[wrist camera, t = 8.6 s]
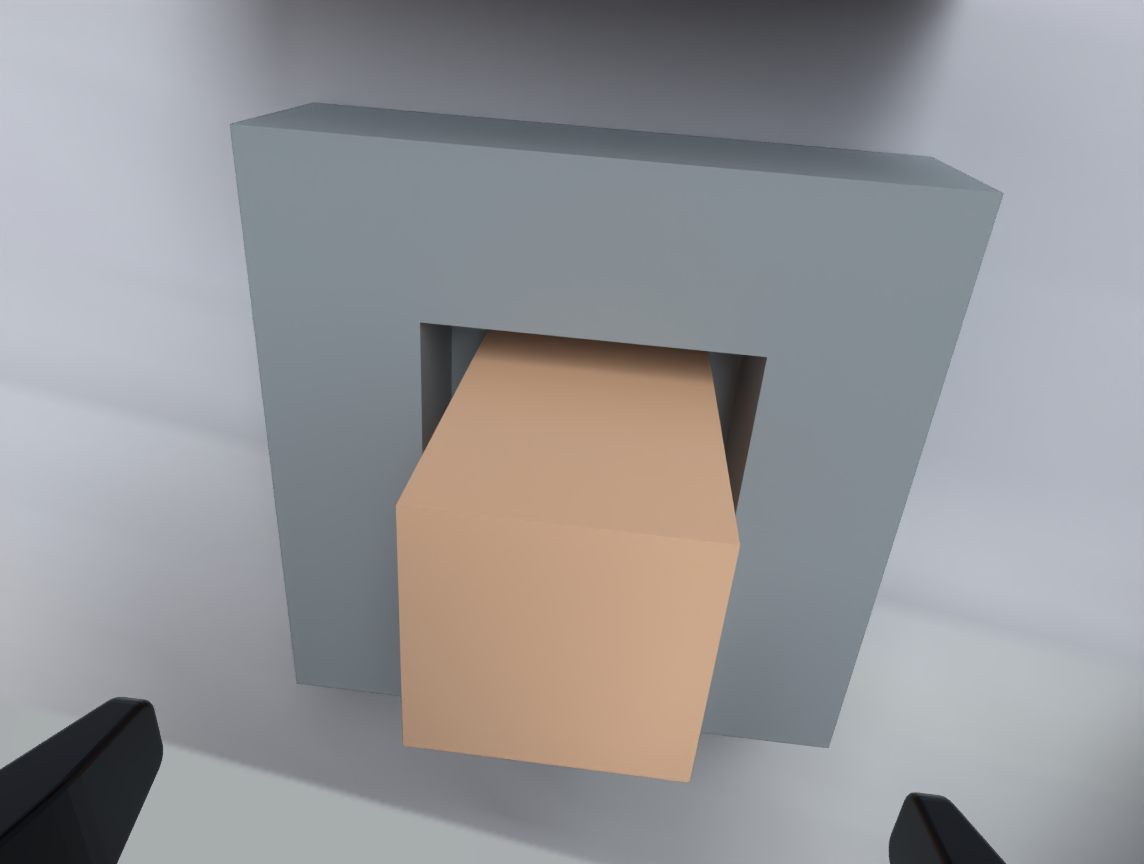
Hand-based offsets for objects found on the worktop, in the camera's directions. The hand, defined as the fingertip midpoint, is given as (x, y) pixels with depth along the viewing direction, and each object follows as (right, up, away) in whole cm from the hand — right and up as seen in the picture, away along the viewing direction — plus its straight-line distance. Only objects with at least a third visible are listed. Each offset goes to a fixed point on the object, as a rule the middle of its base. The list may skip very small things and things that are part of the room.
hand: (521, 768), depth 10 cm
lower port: (+1, +5, +9) cm, 10 cm away
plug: (+1, +4, +8) cm, 9 cm away
